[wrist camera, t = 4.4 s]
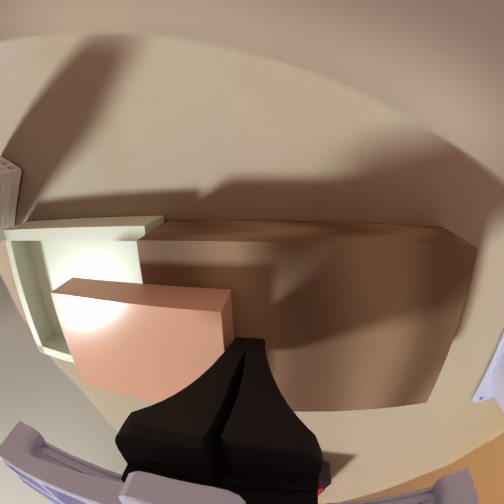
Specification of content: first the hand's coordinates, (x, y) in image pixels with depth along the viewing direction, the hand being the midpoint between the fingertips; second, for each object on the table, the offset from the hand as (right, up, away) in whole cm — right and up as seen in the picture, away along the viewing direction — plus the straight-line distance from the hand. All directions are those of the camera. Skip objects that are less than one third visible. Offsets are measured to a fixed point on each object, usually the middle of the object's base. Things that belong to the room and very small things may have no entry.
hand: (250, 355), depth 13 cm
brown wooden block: (+3, +1, +4) cm, 6 cm away
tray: (-11, +2, +6) cm, 13 cm away
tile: (-5, 0, +2) cm, 5 cm away
